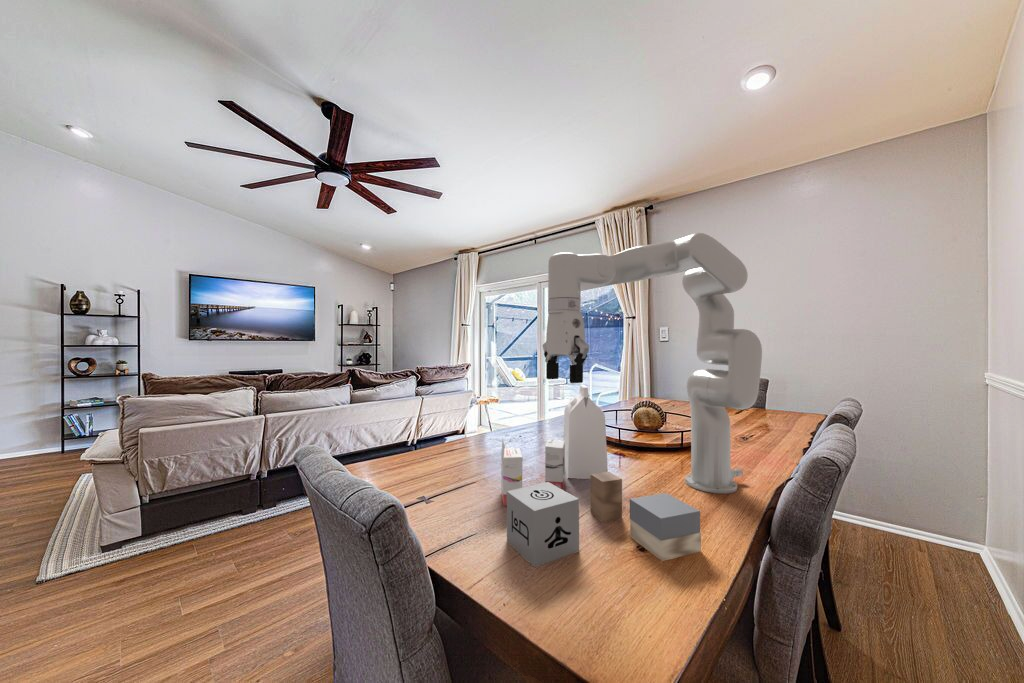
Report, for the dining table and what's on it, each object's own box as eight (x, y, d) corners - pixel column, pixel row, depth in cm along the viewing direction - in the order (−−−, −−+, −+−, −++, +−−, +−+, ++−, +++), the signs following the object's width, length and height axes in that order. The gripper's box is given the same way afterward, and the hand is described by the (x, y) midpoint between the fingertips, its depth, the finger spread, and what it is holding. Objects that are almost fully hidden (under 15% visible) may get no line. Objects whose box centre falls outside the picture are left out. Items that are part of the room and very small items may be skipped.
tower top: (665, 511, 79) (665, 492, 79) (700, 532, 70) (700, 510, 70) (629, 518, 76) (629, 498, 76) (660, 540, 67) (660, 518, 67)
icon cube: (506, 541, 74) (506, 491, 74) (548, 529, 79) (548, 481, 79) (534, 568, 66) (534, 510, 66) (579, 552, 71) (578, 498, 71)
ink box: (563, 493, 98) (563, 447, 98) (544, 491, 99) (544, 446, 99) (565, 480, 106) (565, 439, 107) (548, 479, 107) (548, 438, 107)
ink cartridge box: (523, 506, 90) (523, 444, 90) (502, 506, 90) (502, 445, 90) (519, 491, 99) (519, 435, 99) (500, 492, 98) (500, 436, 98)
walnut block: (609, 510, 88) (609, 471, 88) (622, 519, 83) (622, 479, 83) (590, 513, 86) (590, 474, 86) (602, 523, 82) (602, 481, 82)
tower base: (666, 531, 79) (666, 512, 79) (701, 554, 70) (700, 532, 70) (630, 538, 76) (630, 518, 76) (661, 563, 67) (661, 541, 67)
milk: (608, 479, 108) (607, 388, 108) (567, 479, 108) (567, 388, 108) (598, 465, 120) (598, 384, 120) (562, 465, 120) (562, 384, 120)
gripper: (601, 305, 82) (600, 383, 82) (557, 311, 97) (556, 377, 97) (572, 303, 78) (572, 385, 78) (532, 309, 94) (531, 378, 94)
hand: (563, 380), depth 88 cm, fingers open, 9 cm apart
